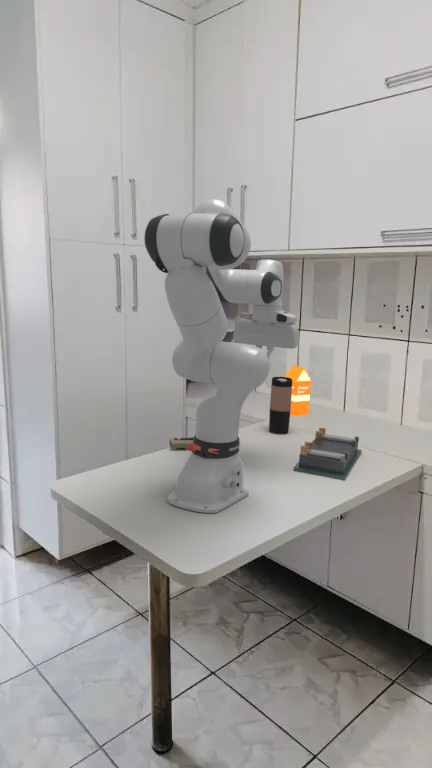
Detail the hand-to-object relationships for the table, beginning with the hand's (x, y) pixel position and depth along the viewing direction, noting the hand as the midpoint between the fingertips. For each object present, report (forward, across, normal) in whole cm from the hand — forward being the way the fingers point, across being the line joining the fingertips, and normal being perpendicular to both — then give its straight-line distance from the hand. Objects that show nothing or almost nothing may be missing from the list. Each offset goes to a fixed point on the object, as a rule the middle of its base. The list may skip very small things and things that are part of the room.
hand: (263, 360), depth 159 cm
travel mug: (+30, -4, +30) cm, 43 cm away
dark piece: (+30, +21, +8) cm, 38 cm away
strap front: (+26, +21, -1) cm, 34 cm away
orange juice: (+30, -7, +62) cm, 69 cm away
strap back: (+26, +21, +17) cm, 37 cm away
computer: (+31, -22, -3) cm, 38 cm away
